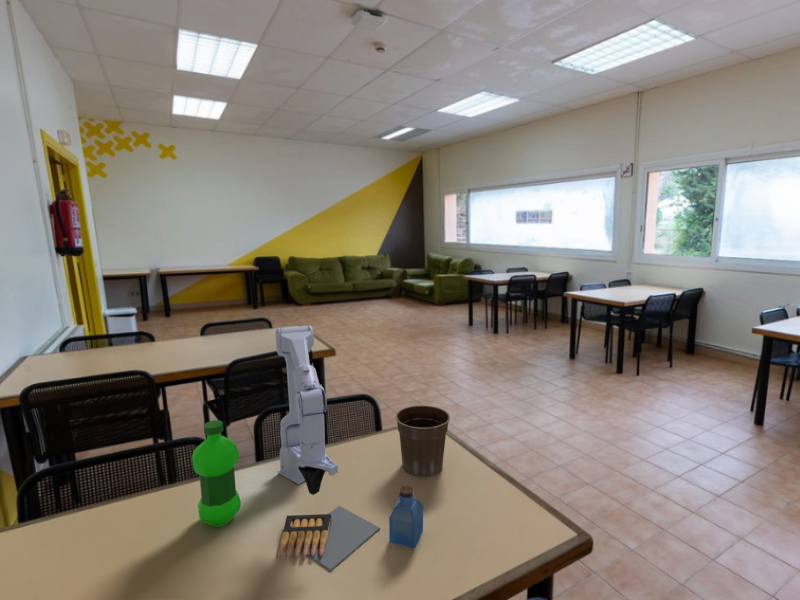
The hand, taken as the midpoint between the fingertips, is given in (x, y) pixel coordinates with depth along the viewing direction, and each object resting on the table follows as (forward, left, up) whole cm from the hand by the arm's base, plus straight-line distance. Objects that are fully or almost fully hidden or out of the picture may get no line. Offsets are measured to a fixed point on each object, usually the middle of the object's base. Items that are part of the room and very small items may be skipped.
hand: (314, 492), depth 102 cm
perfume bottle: (+20, +10, -9) cm, 24 cm away
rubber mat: (+7, 0, -8) cm, 11 cm away
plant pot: (+6, +37, -9) cm, 39 cm away
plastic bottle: (-20, -13, -9) cm, 25 cm away
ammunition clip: (-1, -1, -7) cm, 7 cm away
